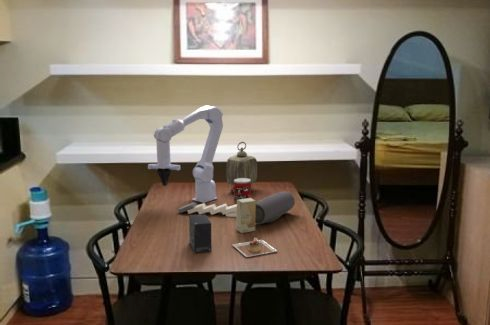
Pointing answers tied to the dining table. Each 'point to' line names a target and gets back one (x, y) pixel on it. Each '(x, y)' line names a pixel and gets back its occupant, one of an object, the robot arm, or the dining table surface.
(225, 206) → the domino
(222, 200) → the dining table surface
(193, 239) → the small box
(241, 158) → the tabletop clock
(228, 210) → the domino
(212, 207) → the domino
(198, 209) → the domino
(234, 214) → the domino
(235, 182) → the canned food
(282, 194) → the bluetooth speaker
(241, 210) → the skincare box
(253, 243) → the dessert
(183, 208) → the domino
